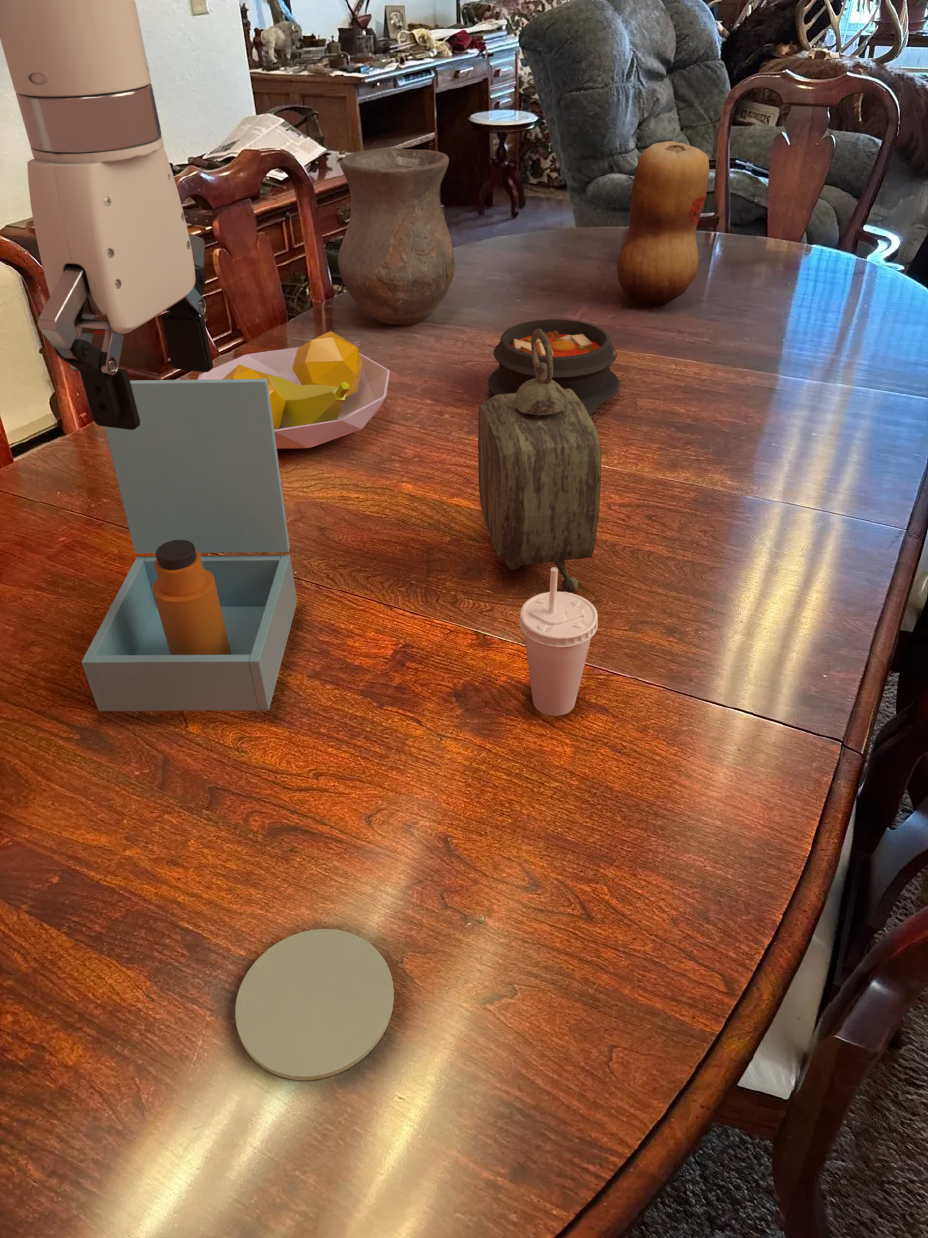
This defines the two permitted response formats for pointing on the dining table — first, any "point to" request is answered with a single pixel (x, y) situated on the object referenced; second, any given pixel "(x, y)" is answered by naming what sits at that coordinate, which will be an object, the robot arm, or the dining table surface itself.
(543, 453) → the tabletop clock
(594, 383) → the casserole
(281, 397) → the fruit bowl
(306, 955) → the coaster
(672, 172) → the butternut squash
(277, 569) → the grey-blue rectangular box
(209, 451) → the lid
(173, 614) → the bottle
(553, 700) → the smoothie
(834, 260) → the dining table surface
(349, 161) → the vase
